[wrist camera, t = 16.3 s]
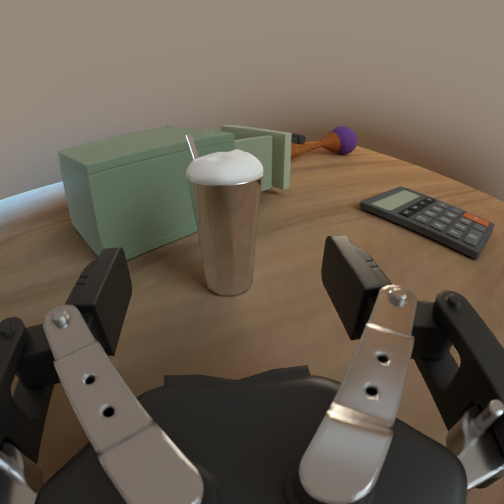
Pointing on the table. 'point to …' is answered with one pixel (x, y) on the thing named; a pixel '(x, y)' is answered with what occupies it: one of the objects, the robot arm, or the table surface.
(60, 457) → the table surface
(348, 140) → the kendama
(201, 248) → the milkshake
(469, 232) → the calculator
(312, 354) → the table surface
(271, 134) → the drawer
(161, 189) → the cabinet
